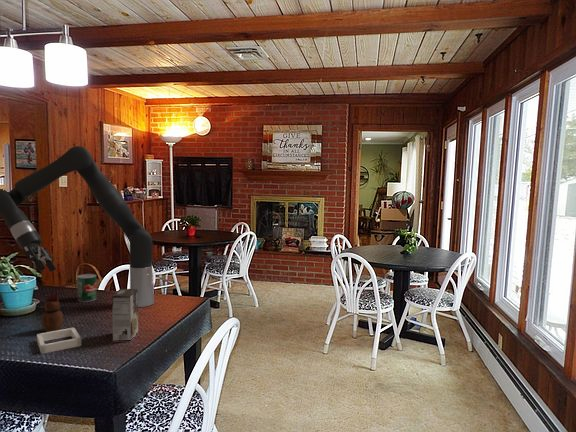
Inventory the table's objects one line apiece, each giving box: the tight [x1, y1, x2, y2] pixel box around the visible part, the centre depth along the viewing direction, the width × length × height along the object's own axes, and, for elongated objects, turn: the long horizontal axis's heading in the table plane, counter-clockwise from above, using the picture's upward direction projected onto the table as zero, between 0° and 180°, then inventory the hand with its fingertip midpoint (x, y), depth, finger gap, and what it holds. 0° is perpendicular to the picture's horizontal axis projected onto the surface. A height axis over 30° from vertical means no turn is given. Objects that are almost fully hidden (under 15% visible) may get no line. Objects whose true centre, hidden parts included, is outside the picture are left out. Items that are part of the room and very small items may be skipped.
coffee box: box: [111, 288, 139, 342], centre depth 143 cm, size 9×6×16 cm
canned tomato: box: [76, 273, 97, 303], centre depth 185 cm, size 8×8×11 cm
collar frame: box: [36, 327, 82, 355], centre depth 136 cm, size 11×12×2 cm
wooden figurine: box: [41, 289, 64, 332], centre depth 146 cm, size 7×6×15 cm
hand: (48, 270), depth 154 cm, fingers open, 8 cm apart
